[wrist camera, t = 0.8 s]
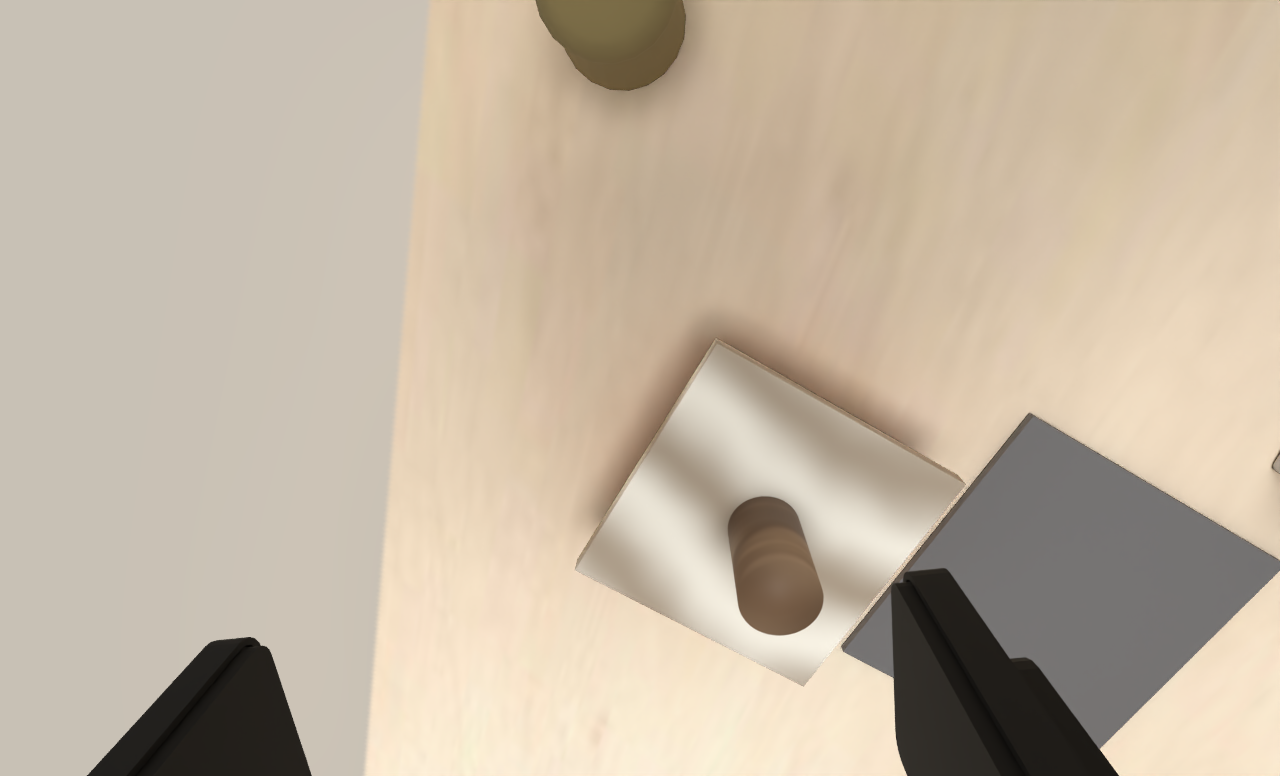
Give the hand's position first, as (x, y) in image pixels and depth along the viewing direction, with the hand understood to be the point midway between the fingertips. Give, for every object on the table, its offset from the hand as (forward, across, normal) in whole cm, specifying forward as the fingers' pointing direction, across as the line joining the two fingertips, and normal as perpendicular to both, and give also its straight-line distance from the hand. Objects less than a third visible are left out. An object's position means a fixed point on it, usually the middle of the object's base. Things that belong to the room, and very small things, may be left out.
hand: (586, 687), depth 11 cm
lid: (+25, -5, +11) cm, 28 cm away
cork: (+30, -1, -13) cm, 33 cm away
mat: (+30, -22, +22) cm, 43 cm away
